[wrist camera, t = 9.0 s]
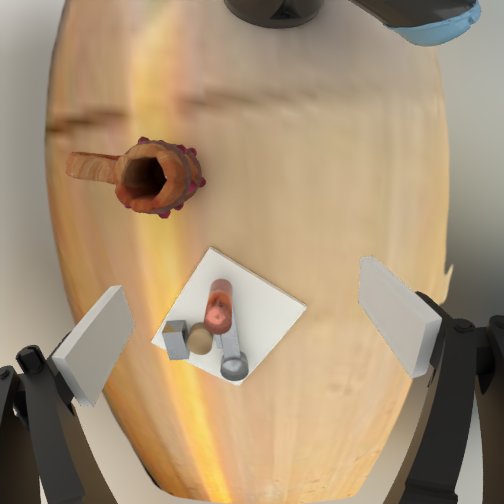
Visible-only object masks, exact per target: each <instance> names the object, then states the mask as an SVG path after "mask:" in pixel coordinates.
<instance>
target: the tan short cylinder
mask: <svg viewBox="0 0 504 504" xmlns="http://www.w3.org/2000/svg"><path fill="white" fill-rule="evenodd" d="M212 342H213V334H212V333H210V332H208V331H207V330H206V328H205V327H204V323H203V322H198V323H195V324H194V325H193V326H192V327H191V330H190V334H189V338H188V342H187V346H188V348H189V350H190V351H191V352H193V353H194V354H197V355H205V354H207V353H209V352H210V351H211V349H212Z"/></svg>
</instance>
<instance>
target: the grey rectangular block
mask: <svg viewBox="0 0 504 504" xmlns="http://www.w3.org/2000/svg"><path fill="white" fill-rule="evenodd" d="M162 336H163V339H164V343H165V346H166V349H167V352H168V355H169V359H170V360H183V359H189V356H190V350H189V348H188V346H187V342H188V338H189V334H188V330H187V325H186V321H185V320H174V321H166V324H165V326H164V329H163V331H162Z"/></svg>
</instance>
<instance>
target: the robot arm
mask: <svg viewBox="0 0 504 504" xmlns="http://www.w3.org/2000/svg"><path fill="white" fill-rule="evenodd" d="M323 1H324V0H224V2H225V4H226V6H227V7H228V9H229V10H230V11H231V12H232V13H233V14H235V15H236V16H237V17H239V18H241V19H242V20H244V21H246V22H249V23H251V24H254V25H258V26H262V27H268V28H290V27H295V26H298V25H301V24H304V23H306V22H308V21H309V20H311V19H312V18H313V17H314V16H315V15H316V14H317V13H318V11H319V9H320V8H321V6H322V4H323ZM349 1H351V2H352V3H354V4H355V5H357V6H359V7H360V8H362V9H363V10H365V11H366V12H368V13H369V14H371V15H372V16H374V17H375V18H376V19H378V20H379V21H381V22H382V23H383V25H384V26H386V27H387V28H389V29H391V30H394V31H395V32H396V33H398V34H399V35H401V36H402V37H403V38H405V39H406V40H407V41H409V42H410V43H412V44H414V45H419V46H425V47H427V46H435V45H439V44H443V43H445V42H448V41H450V40H452V39H454V38H456V37H458V36H460V35H461V34H463V33H464V32H466V31H467V30H468V29H469V28H470V25H471V24H474V23H476V21H477V20H478V19H479V17H480V14H481V7H480V5H479V2H478V0H349ZM358 303H359V304H360V306H361V307H362V308H363V310H364V311H365V312H366V314H367V315H368V317H369V318H370V319H371V321H372V322H373V324H374V325H375V326H376V328H377V329H378V331H379V332H380V334H381V335H382V336H383V338H384V339H385V341H386V342H387V344H388V345H389V347H390V348H391V349H392V351H393V352H394V354H395V355H396V357H397V358H398V360H399V361H400V363H401V364H402V366H403V367H404V369H405V370H406V372H407V373H408V375H409V376H410V378H411V379H412V378H415V377H418V376H420V375H423V374H426V372H427V369H428V366H429V363H430V364H431V365H432V366H433V367H434V370H433V373H432V376H431V379H430V381H429V384H428V386H427V387H429V389H428V392H427V396H426V400H425V403H424V406H423V409H422V412H421V416H420V419H419V422H418V425H417V427H416V430H415V433H414V436H413V439H412V441H411V444H410V446H409V449H408V452H407V454H406V457H405V459H404V461H403V463H402V466H401V468H400V470H399V472H398V475H397V477H396V479H395V481H394V483H393V485H392V487H391V489H390V491H389V493H388V495H387V497H386V499H385V501H384V503H383V504H457V502H458V496H457V495H456V494H455V491H454V490H455V486H456V483H457V479H458V476H459V472H460V469H461V465H462V461H463V457H464V453H465V448H466V443H467V439H468V433H469V428H470V422H471V415H472V408H473V400H474V390H475V394H476V400H477V406H478V413H479V419H480V429H481V438H482V453H483V502H482V504H504V316H502V315H501V316H500V315H496V316H492V317H491V318H490V320H489V323H488V326H487V327H480V328H476V327H475V325H474V324H473V323H471V322H470V321H468V320H465V319H453V318H452V317H450V315H448V314H447V313H446V312H445V311H444V310H443V309H442V308H441V307H440V306H438V305H437V304H436V303H435V302H433V300H432V299H431V298H430V297H428V296H427V295H425V294H423V293H421V292H419V291H417V292H413V291H412V290H411V289H410V288H409V287H408V286H407V285H406V284H405V283H403V282H402V281H401V280H400V279H399V278H398V277H397V276H395V275H394V274H393V273H392V272H391V271H390V270H389V269H387V268H386V267H385V266H384V265H383V264H382V263H380V262H379V261H378V260H377V259H376V258H374V257H373V256H370V257H362V258H360V280H359V299H358ZM134 328H135V324H134V321H133V318H132V315H131V312H130V309H129V306H128V303H127V300H126V297H125V294H124V290H123V287H122V285H119V286H110V288H109V289H108V290H107V291H106V292H105V293H104V294H103V295H102V297H101V298H100V299H99V300H98V301H97V302H96V303H95V304H94V306H93V307H92V308H91V309H90V310H89V311H88V313H87V314H86V315H85V316H84V317H83V318H82V320H81V321H80V322H79V323H78V324H77V326H76V327H75V328H74V329H73V330H72V331H71V332H69V333H68V334H67V335H66V336H65V337H64V338H63V340H62V342H60V343H59V345H58V347H56V348H55V350H54V351H53V352H52V353H51V355H50V356H49V357H48V358H47V360H45V358H44V356H43V354H42V352H41V350H40V348H39V347H38V346H37V345H30V346H27V347H25V348H23V349H22V350H21V351H19V353H18V354H17V355H16V360H17V362H18V363H19V365H20V367H21V369H22V370H23V372H24V373H23V374H17V373H16V371H15V370H14V368H13V366H4V367H1V368H0V504H41V498H40V481H39V475H40V479H41V483H42V486H43V489H44V493H45V496H46V499H47V502H48V504H118V503H117V501H116V499H115V498H114V496H113V494H112V492H111V491H110V489H109V487H108V485H107V483H106V481H105V479H104V477H103V475H102V473H101V471H100V469H99V467H98V465H97V463H96V461H95V459H94V456H93V454H92V452H91V450H90V447H89V444H88V442H87V440H86V437H85V435H84V432H83V429H82V427H81V424H80V421H79V418H78V416H77V413H76V410H75V407H74V406H73V404H72V403H71V401H72V399H73V397H75V398H76V400H77V401H78V403H79V404H80V405H81V406H87V407H94V405H95V403H96V401H97V399H98V397H99V395H100V393H101V391H102V389H103V387H104V385H105V383H106V381H107V379H108V377H109V375H110V373H111V371H112V369H113V367H114V365H115V364H116V362H117V360H118V358H119V356H120V354H121V352H122V350H123V348H124V347H125V345H126V343H127V341H128V339H129V337H130V336H131V334H132V332H133V330H134ZM13 408H14V409H15V411H16V412H17V414H16V415H15V414H14V411H13Z"/></svg>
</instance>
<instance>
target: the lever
mask: <svg viewBox="0 0 504 504" xmlns="http://www.w3.org/2000/svg"><path fill="white" fill-rule="evenodd" d="M232 295H233V288H232V285H231V283H230V282H229V281H227V280H225V279H217V280H215V281H213V282H212V284H211V286H210V291H209V296H208V301H207V306H206V311H205V316H204V322H203V323H204V327H205V328H206V330H207V331H208V332H210V333H212V334H214V336H215V341H216V346H217V349H223V352H224V357H223V358H222V360H221V368H220V372H221V375H222V376H223V377H224V378H225V379H227V380H230V381H240V380H243V379H244V378H246V377H247V375H248V373H249V367H248V360H247V358H246V357H245V356H244V355H242V354H240V347H239V341H238V334H237V327H236V320H235V313H234V306H233V299H232Z"/></svg>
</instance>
